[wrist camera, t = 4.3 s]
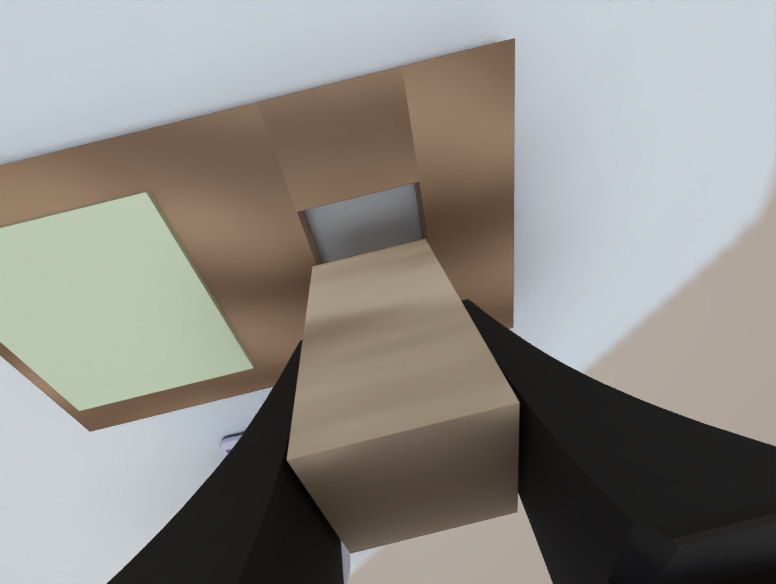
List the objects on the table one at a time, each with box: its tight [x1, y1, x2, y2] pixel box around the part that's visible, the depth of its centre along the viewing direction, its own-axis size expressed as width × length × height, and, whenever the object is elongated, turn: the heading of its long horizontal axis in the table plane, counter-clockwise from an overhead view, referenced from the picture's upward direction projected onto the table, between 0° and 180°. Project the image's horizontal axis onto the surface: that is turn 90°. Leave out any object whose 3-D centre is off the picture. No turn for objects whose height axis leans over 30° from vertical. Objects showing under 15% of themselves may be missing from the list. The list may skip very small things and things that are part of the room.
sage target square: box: [0, 190, 255, 411], centre depth 16 cm, size 10×10×1 cm
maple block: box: [287, 239, 520, 553], centre depth 10 cm, size 4×4×7 cm
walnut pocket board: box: [0, 38, 515, 432], centre depth 17 cm, size 14×26×2 cm, turn 102°
